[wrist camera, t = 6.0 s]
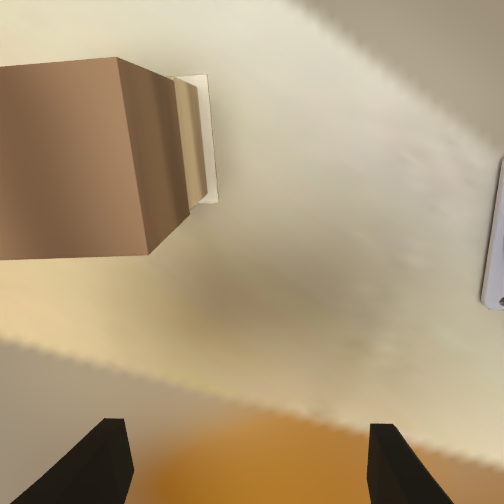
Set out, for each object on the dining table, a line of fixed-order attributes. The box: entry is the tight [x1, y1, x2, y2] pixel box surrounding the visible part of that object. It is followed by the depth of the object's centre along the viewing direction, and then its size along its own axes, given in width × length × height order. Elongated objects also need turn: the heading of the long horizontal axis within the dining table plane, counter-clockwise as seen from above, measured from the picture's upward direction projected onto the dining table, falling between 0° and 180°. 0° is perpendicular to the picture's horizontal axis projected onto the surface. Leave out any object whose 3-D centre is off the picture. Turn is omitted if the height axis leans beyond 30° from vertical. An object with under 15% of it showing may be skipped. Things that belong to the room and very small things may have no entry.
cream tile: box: [176, 74, 219, 204], centre depth 18 cm, size 6×6×1 cm
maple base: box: [166, 76, 208, 211], centre depth 16 cm, size 5×5×4 cm
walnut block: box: [0, 57, 190, 260], centre depth 12 cm, size 5×5×5 cm
